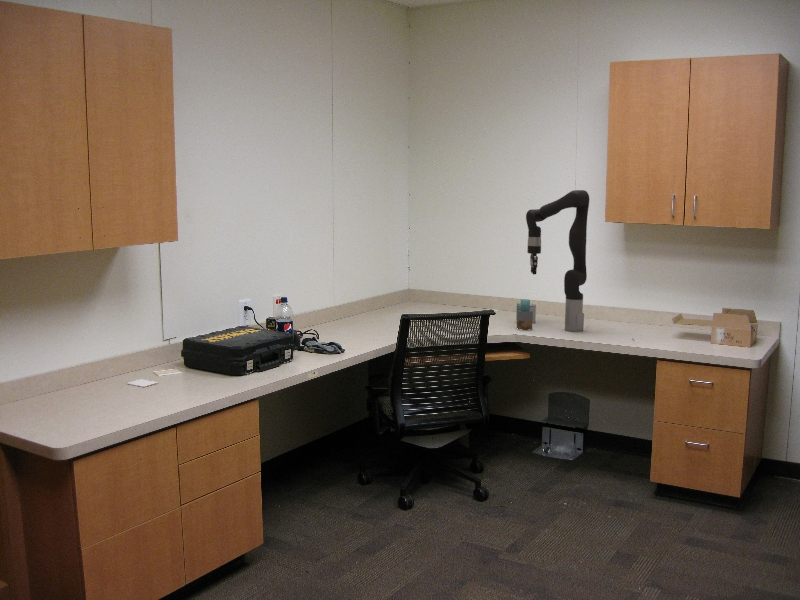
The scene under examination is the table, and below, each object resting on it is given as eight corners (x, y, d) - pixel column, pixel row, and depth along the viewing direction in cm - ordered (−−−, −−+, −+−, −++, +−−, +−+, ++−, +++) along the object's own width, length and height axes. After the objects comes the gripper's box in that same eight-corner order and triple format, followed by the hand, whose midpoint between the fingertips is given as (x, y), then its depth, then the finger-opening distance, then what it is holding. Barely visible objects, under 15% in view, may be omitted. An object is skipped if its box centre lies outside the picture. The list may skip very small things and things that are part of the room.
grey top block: (532, 320, 441) (532, 311, 441) (525, 321, 437) (525, 312, 437) (524, 318, 446) (524, 309, 445) (516, 319, 442) (517, 310, 441)
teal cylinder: (531, 311, 441) (531, 300, 440) (525, 312, 437) (525, 301, 437) (524, 309, 444) (524, 299, 443) (518, 310, 441) (518, 299, 440)
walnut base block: (532, 329, 442) (532, 320, 441) (525, 330, 438) (525, 321, 437) (523, 327, 447) (523, 318, 446) (516, 328, 443) (516, 319, 442)
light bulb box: (515, 321, 467) (516, 302, 465) (525, 320, 469) (526, 301, 468) (526, 324, 457) (526, 305, 455) (536, 323, 460) (536, 304, 458)
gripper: (542, 246, 448) (541, 275, 451) (539, 243, 462) (538, 272, 465) (528, 245, 449) (528, 274, 451) (526, 243, 463) (525, 271, 465)
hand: (533, 273), depth 458 cm, fingers open, 8 cm apart
